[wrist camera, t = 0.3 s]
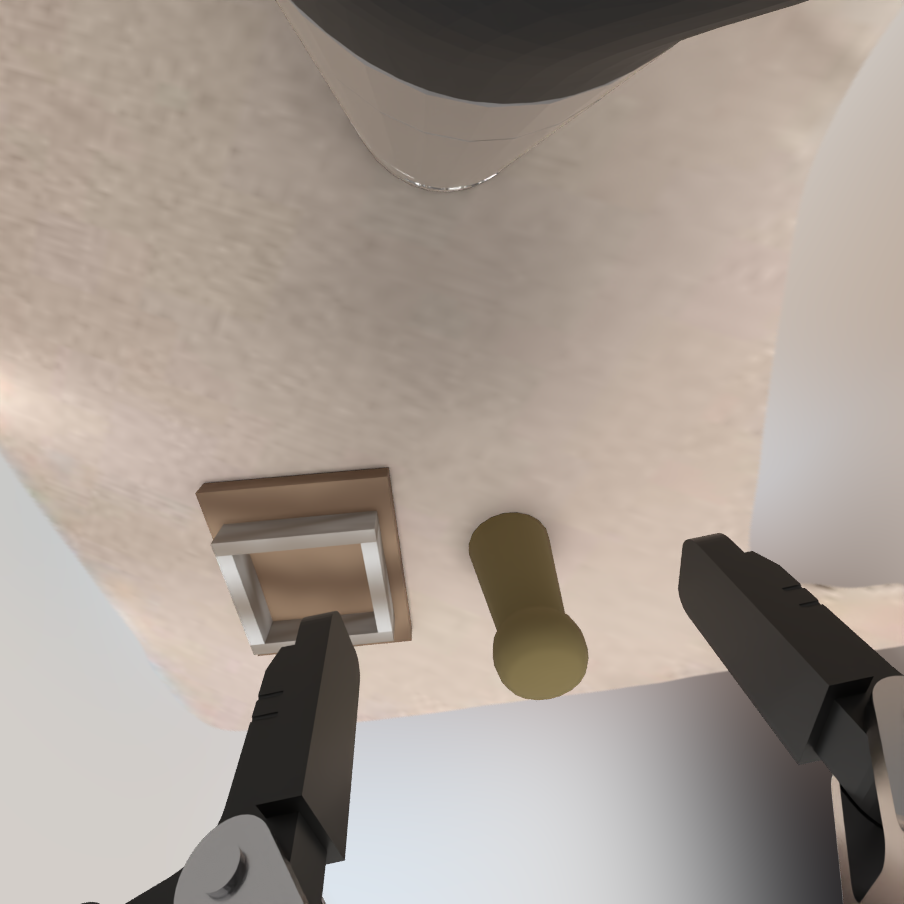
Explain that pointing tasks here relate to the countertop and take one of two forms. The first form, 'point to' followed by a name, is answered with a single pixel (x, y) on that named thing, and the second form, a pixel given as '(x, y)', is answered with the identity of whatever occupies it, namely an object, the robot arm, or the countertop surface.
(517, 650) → the olive pawn figure
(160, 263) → the countertop surface
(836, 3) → the countertop surface
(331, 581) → the spice dock
